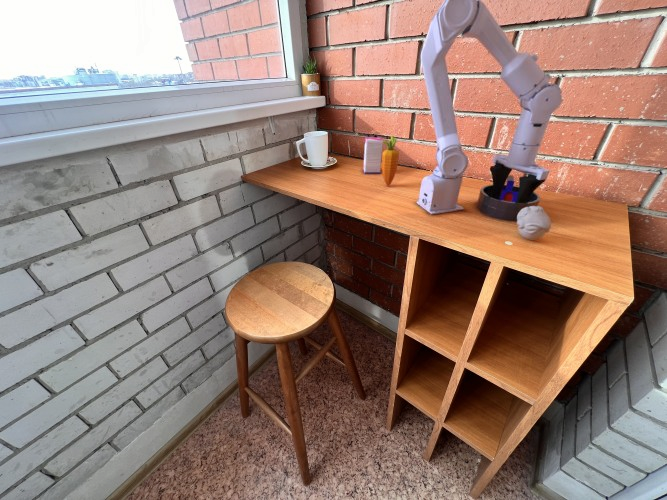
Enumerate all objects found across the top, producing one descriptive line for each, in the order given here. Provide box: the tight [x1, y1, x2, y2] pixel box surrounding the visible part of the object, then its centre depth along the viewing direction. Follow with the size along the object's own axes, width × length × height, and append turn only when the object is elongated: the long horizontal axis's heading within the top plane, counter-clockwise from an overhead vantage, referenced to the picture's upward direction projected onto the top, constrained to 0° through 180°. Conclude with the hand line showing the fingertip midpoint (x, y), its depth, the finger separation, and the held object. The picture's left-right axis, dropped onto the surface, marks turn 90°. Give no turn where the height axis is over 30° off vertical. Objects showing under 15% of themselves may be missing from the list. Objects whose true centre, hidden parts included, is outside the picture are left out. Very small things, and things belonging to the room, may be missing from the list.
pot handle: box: [506, 174, 515, 182], centre depth 80 cm, size 11×2×2 cm, turn 151°
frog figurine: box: [516, 205, 552, 241], centre depth 60 cm, size 6×7×7 cm
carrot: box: [381, 135, 400, 187], centre depth 87 cm, size 5×5×15 cm
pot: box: [476, 184, 541, 222], centre depth 73 cm, size 13×13×5 cm
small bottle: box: [499, 180, 518, 202], centre depth 73 cm, size 4×4×8 cm
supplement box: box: [363, 136, 384, 175], centre depth 101 cm, size 6×6×12 cm
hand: (507, 198), depth 72 cm, fingers open, 7 cm apart
